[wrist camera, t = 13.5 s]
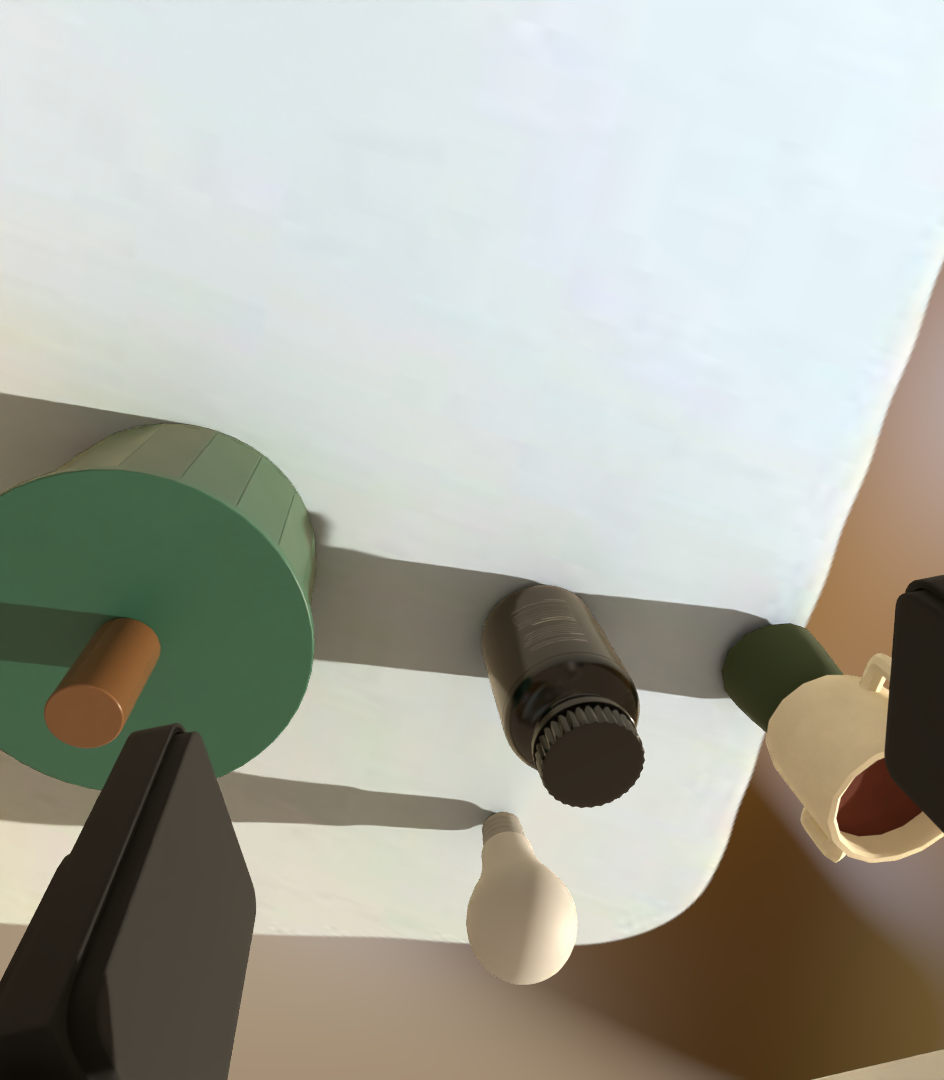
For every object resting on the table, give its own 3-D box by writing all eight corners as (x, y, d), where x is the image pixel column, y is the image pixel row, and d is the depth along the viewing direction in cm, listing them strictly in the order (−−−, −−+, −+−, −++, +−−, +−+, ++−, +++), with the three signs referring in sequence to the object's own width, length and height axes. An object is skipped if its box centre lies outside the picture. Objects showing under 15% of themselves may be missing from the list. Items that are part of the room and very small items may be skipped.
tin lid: (-125, 497, 28) (-250, 562, 23) (268, 430, 29) (242, 476, 24) (22, 804, 34) (-50, 918, 28) (347, 740, 35) (342, 838, 29)
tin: (2, 449, 37) (-114, 514, 28) (283, 401, 38) (256, 450, 29) (96, 683, 42) (22, 800, 33) (341, 637, 43) (333, 739, 34)
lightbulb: (560, 791, 49) (608, 936, 39) (525, 863, 51) (563, 1019, 40) (472, 771, 47) (498, 916, 37) (439, 846, 49) (456, 1003, 39)
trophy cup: (786, 740, 49) (919, 899, 37) (686, 728, 48) (791, 890, 36) (848, 591, 46) (1017, 714, 34) (742, 574, 44) (879, 696, 33)
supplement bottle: (460, 664, 44) (490, 805, 33) (509, 565, 42) (557, 679, 31) (562, 697, 46) (623, 841, 35) (614, 603, 44) (695, 724, 33)
